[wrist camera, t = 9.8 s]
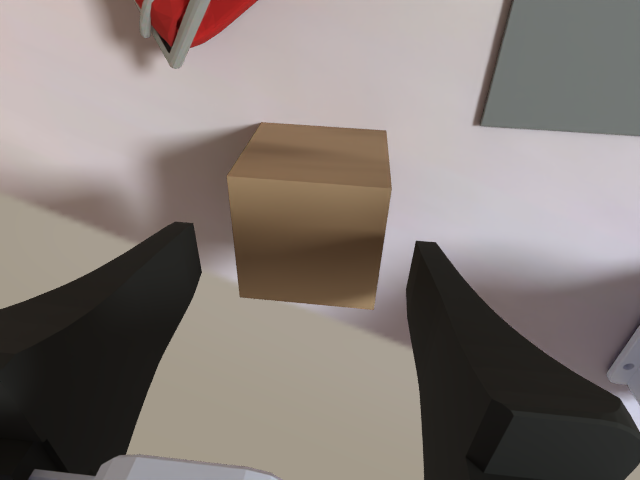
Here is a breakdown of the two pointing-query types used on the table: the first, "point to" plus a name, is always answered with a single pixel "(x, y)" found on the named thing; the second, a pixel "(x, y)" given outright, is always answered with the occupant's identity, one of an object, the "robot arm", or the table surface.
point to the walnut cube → (310, 214)
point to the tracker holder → (186, 23)
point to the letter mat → (568, 68)
